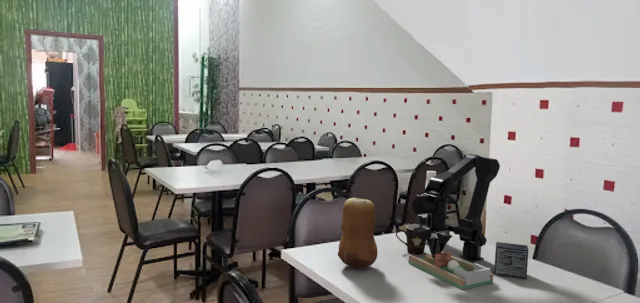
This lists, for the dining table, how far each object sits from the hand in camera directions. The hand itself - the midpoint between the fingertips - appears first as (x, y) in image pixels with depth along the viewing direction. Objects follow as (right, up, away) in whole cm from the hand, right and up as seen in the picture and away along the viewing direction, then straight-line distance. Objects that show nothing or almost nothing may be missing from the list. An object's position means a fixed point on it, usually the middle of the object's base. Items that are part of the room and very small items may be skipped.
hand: (435, 253), depth 176 cm
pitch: (+3, -5, -5) cm, 8 cm away
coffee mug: (-6, -3, +16) cm, 17 cm away
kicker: (0, -3, 0) cm, 3 cm away
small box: (+25, -6, -5) cm, 26 cm away
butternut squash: (-29, -4, -3) cm, 29 cm away
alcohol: (+4, -1, +32) cm, 32 cm away
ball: (+4, -3, -8) cm, 9 cm away
